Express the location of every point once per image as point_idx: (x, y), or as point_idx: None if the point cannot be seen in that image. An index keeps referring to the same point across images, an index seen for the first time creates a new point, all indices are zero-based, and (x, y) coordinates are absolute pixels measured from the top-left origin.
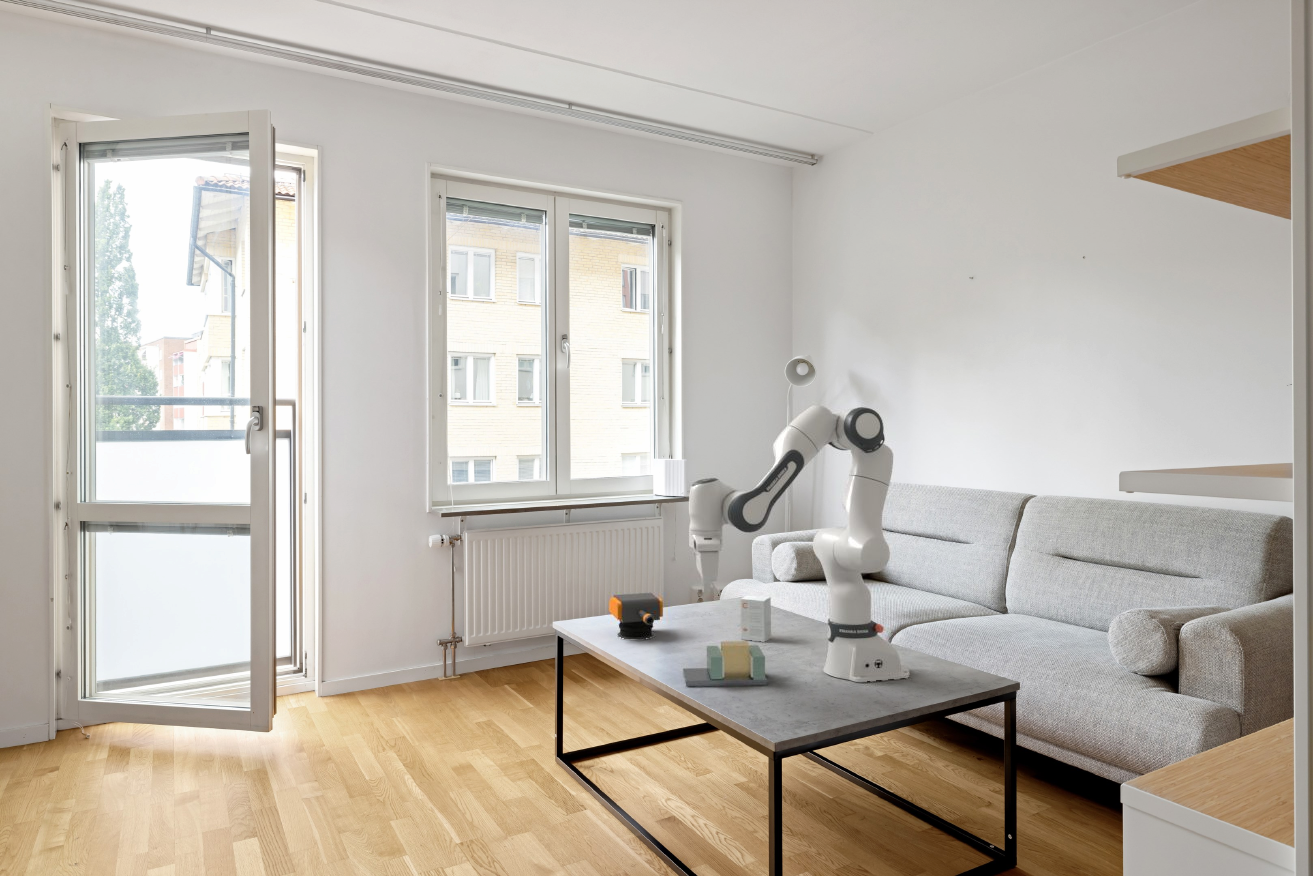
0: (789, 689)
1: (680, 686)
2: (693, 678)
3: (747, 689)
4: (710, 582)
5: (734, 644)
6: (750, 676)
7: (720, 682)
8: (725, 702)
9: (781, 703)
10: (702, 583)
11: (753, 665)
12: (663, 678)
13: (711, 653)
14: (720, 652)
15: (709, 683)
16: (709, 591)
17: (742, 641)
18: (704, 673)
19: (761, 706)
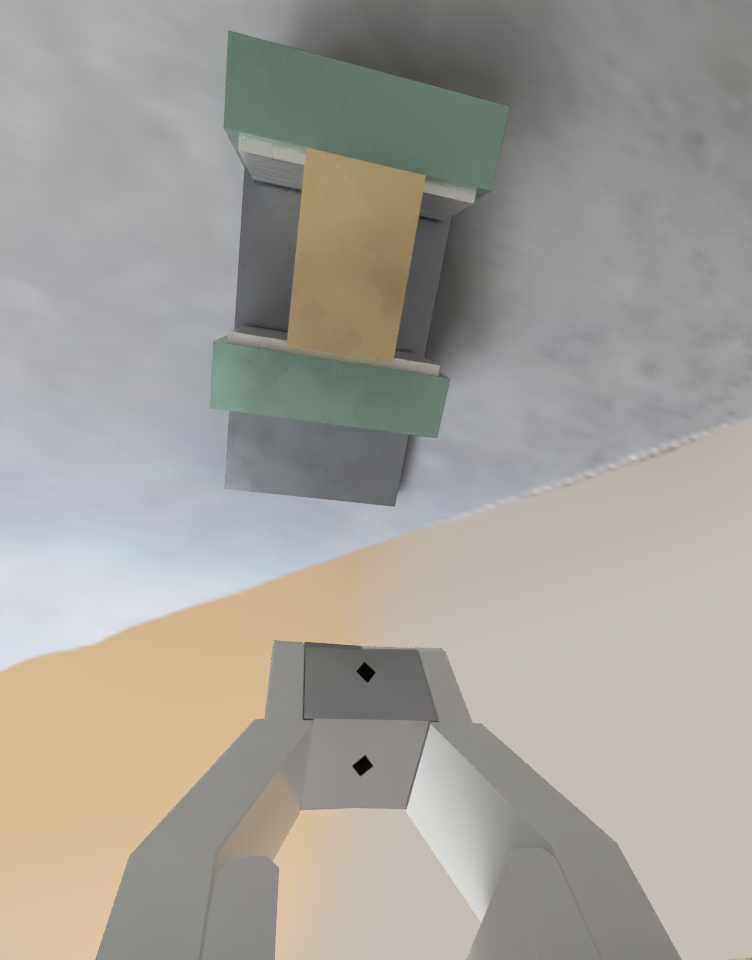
0: (544, 47)
1: (382, 514)
2: (371, 473)
3: (484, 265)
4: (569, 808)
5: (372, 275)
6: None
7: None
8: (592, 399)
9: (687, 179)
10: (284, 839)
11: (475, 199)
12: (275, 556)
13: (369, 418)
14: (360, 364)
15: None
16: (448, 666)
17: (307, 187)
18: None
19: (681, 278)
